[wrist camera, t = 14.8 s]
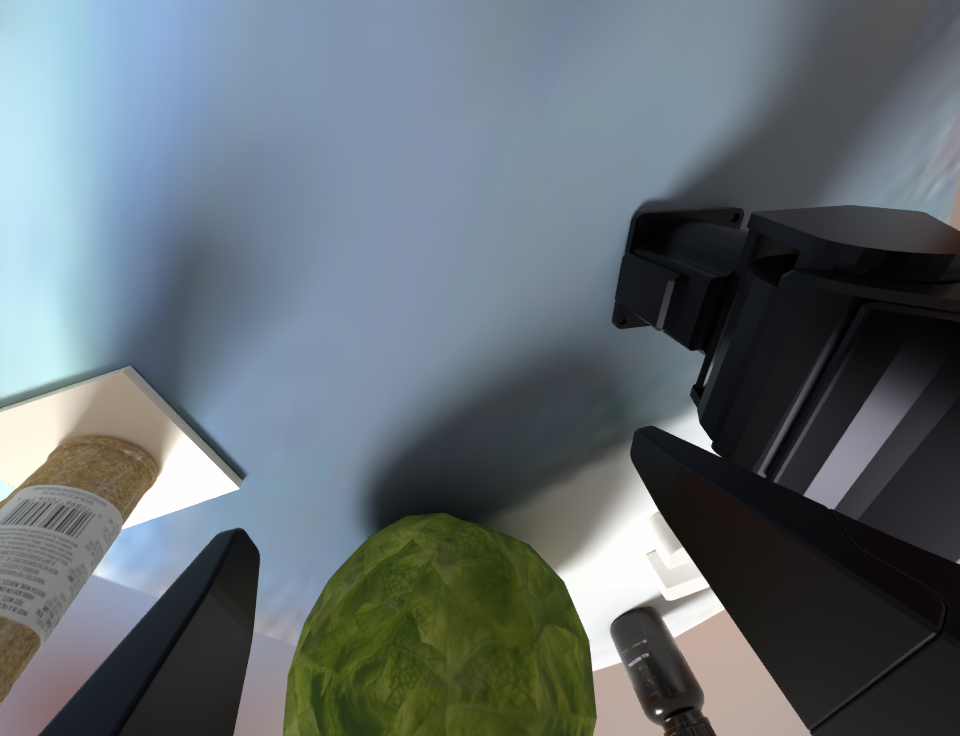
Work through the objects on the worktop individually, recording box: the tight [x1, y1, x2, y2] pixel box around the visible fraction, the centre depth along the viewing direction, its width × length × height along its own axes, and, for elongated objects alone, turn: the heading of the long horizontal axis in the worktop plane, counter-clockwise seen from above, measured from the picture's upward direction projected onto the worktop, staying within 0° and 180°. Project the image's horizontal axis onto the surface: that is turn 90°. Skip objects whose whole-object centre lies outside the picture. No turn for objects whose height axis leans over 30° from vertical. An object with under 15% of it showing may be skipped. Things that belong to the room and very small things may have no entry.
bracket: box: [645, 512, 710, 601], centre depth 34 cm, size 19×10×11 cm, turn 103°
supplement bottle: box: [610, 608, 716, 736], centre depth 42 cm, size 7×7×12 cm
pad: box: [0, 366, 243, 529], centre depth 20 cm, size 9×9×1 cm
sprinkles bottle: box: [0, 437, 158, 704], centre depth 14 cm, size 5×5×13 cm
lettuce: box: [283, 513, 597, 736], centre depth 25 cm, size 17×23×17 cm
